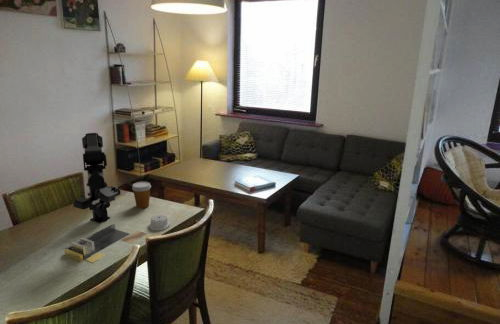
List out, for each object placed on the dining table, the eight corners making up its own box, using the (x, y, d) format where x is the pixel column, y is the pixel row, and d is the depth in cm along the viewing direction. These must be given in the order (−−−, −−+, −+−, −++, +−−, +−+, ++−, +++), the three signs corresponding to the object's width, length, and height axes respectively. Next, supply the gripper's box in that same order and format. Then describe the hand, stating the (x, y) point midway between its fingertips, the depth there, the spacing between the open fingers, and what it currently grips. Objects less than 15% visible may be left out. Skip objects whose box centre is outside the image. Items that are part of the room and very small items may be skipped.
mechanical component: (144, 229, 160) (164, 232, 158) (143, 221, 159) (164, 223, 157) (154, 220, 170) (173, 223, 168) (154, 212, 168) (173, 214, 167)
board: (120, 240, 150) (120, 240, 150) (137, 230, 159) (137, 230, 159) (130, 243, 148) (130, 243, 148) (147, 234, 156) (147, 233, 156)
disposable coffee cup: (136, 202, 190) (135, 181, 186) (154, 202, 190) (153, 181, 186) (130, 209, 181) (128, 187, 177) (149, 210, 180) (147, 188, 177)
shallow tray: (62, 254, 138) (62, 249, 138) (113, 228, 160) (112, 224, 159) (80, 261, 134) (80, 256, 133) (130, 234, 155) (129, 229, 155)
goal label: (85, 260, 135) (85, 259, 135) (98, 252, 140) (98, 252, 140) (92, 262, 133) (92, 262, 133) (105, 255, 139) (105, 255, 138)
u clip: (71, 252, 139) (70, 242, 138) (82, 247, 144) (81, 237, 142) (84, 257, 136) (82, 247, 135) (94, 251, 141) (93, 241, 140)
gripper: (90, 191, 129) (94, 230, 133) (128, 177, 145) (131, 212, 149) (70, 186, 133) (74, 223, 138) (109, 173, 149) (112, 207, 154)
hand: (99, 216), depth 145 cm, fingers closed
